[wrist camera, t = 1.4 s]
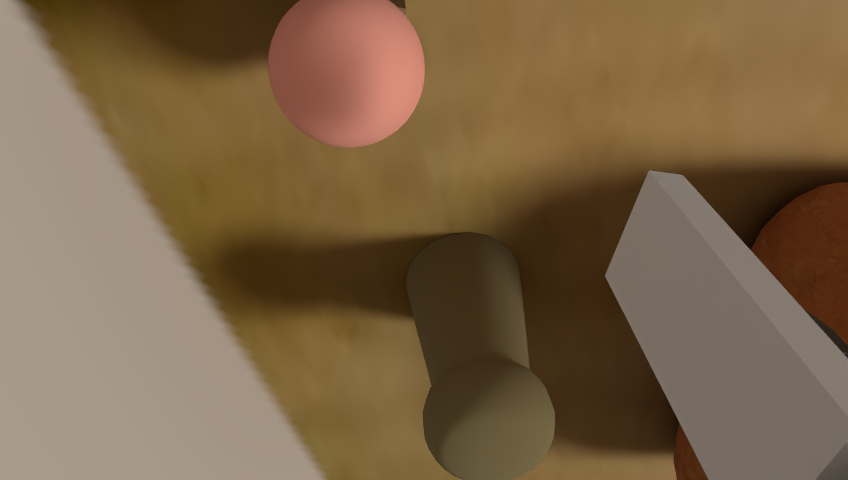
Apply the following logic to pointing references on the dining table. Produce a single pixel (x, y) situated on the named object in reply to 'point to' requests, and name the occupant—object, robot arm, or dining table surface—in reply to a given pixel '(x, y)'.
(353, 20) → the ball
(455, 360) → the cork
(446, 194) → the dining table surface
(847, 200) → the bread
